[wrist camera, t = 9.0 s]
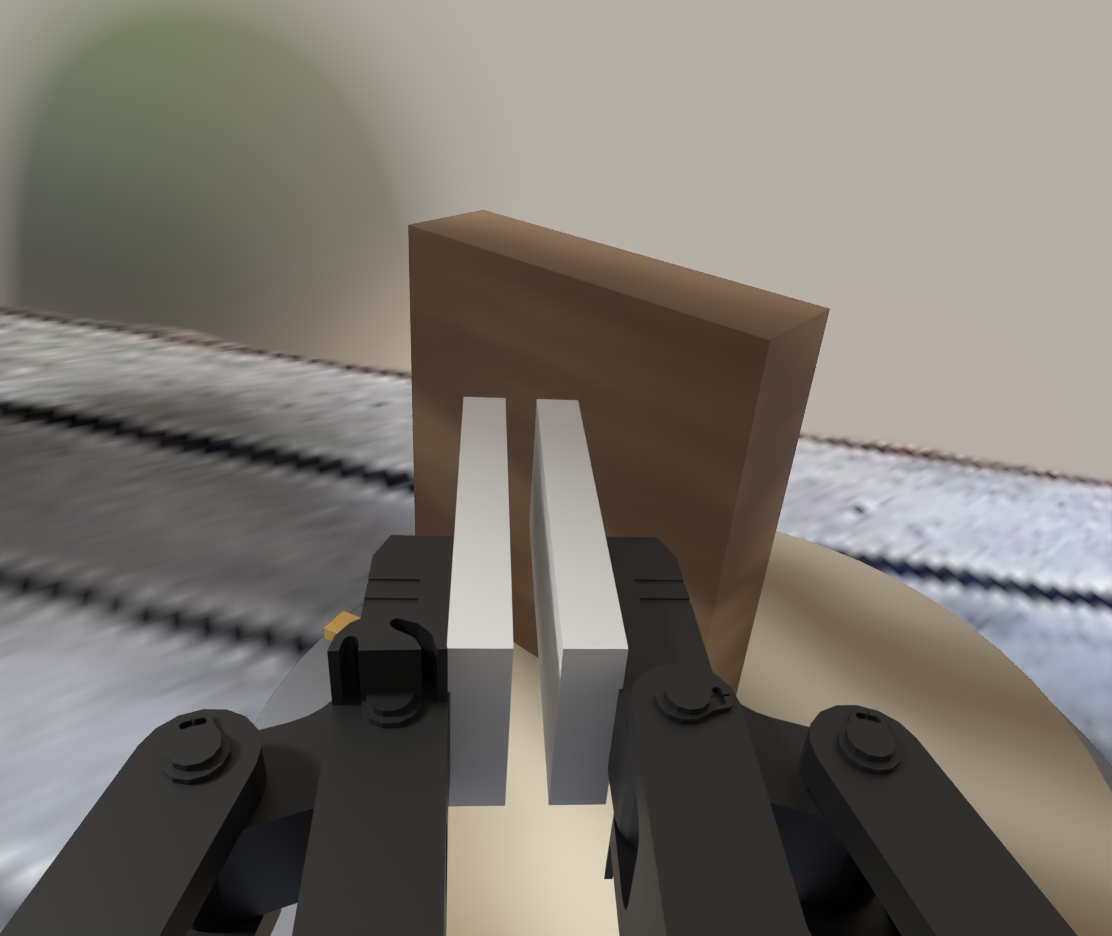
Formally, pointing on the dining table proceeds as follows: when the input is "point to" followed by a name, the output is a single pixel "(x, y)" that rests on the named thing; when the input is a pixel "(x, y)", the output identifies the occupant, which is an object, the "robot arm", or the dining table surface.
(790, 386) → the dial
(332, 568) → the dining table surface
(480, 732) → the robot arm
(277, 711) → the base
